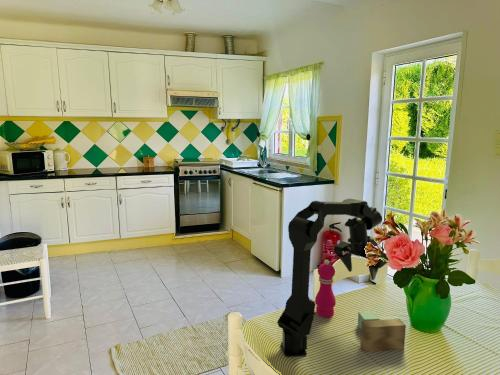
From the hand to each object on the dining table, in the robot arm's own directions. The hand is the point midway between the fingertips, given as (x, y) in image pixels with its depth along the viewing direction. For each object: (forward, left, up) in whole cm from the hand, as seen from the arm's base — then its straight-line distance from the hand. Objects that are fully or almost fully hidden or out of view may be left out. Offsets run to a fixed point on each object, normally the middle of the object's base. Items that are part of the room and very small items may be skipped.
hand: (361, 275), depth 123 cm
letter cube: (-1, -9, -15) cm, 18 cm away
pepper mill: (-12, +2, -15) cm, 19 cm away
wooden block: (-1, -19, -15) cm, 24 cm away
